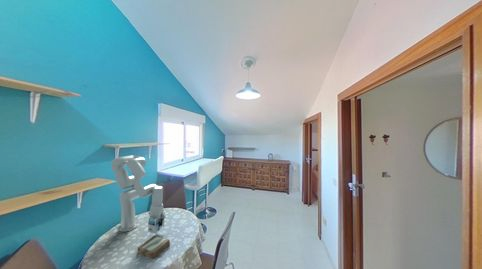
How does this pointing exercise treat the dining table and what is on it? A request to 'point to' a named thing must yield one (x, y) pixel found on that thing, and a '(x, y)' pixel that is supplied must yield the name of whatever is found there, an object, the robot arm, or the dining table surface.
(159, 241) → the plinth
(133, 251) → the dining table surface
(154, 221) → the light bulb box
